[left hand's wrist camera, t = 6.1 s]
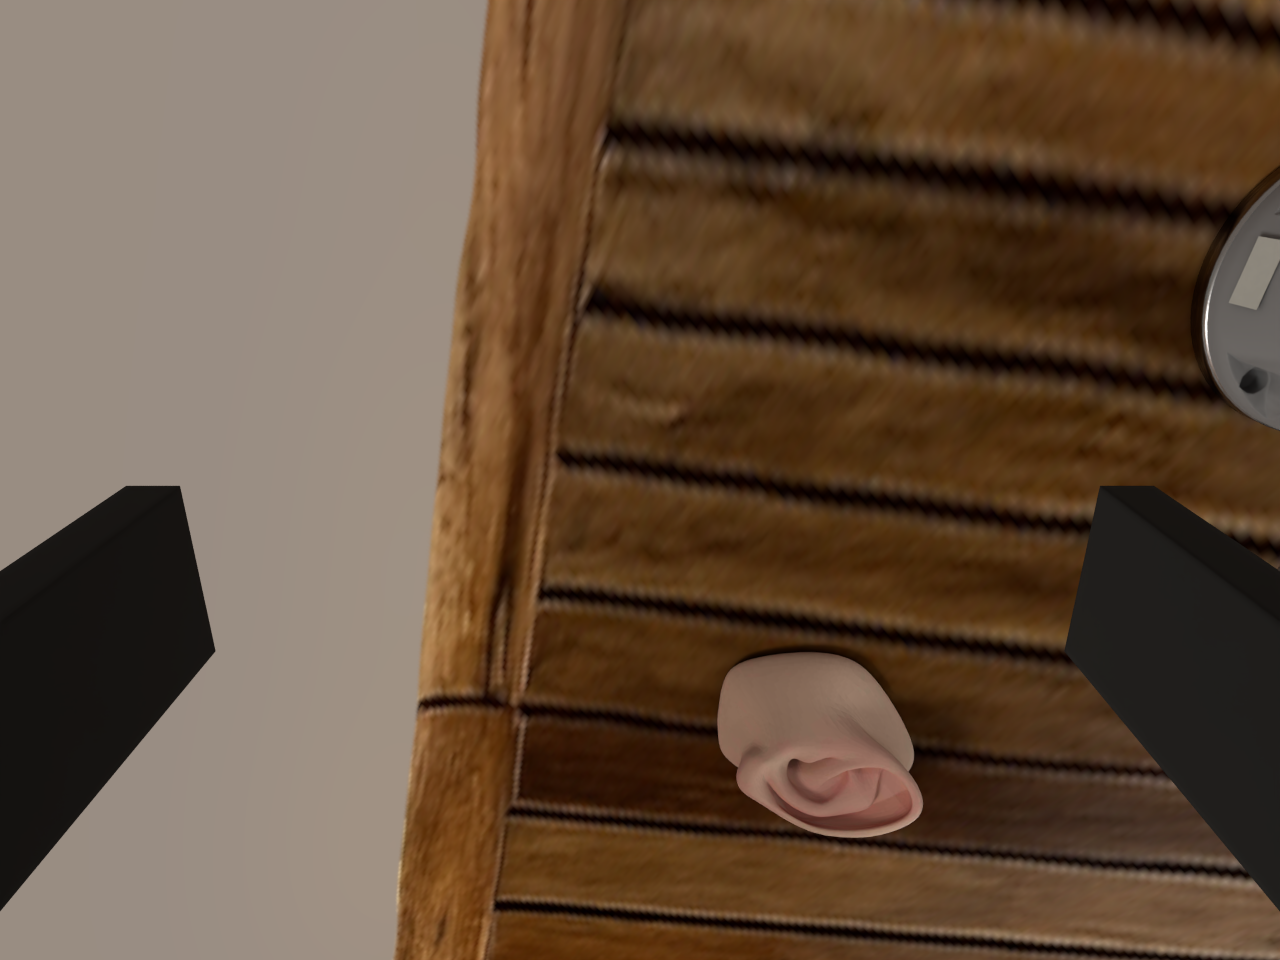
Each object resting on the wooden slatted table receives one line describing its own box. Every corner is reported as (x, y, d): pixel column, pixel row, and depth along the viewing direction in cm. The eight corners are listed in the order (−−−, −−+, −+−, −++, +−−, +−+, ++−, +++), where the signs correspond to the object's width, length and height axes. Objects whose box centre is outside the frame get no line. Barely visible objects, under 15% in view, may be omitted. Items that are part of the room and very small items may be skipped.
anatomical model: (692, 719, 50) (884, 654, 48) (689, 678, 53) (867, 617, 52) (767, 879, 54) (945, 825, 52) (759, 831, 58) (925, 780, 56)
